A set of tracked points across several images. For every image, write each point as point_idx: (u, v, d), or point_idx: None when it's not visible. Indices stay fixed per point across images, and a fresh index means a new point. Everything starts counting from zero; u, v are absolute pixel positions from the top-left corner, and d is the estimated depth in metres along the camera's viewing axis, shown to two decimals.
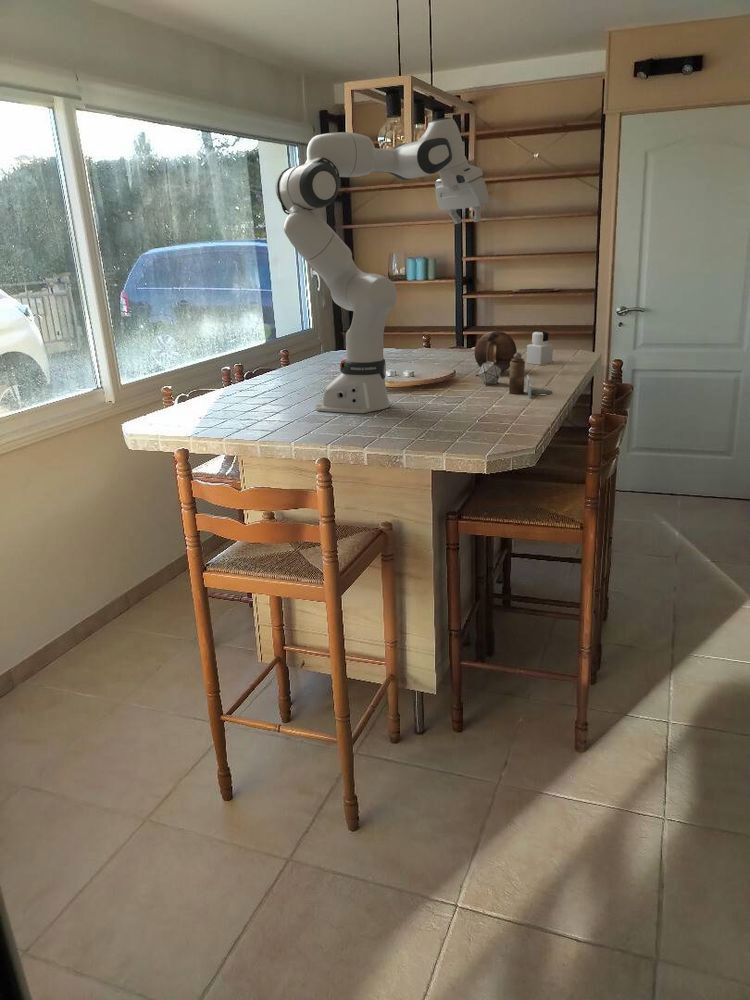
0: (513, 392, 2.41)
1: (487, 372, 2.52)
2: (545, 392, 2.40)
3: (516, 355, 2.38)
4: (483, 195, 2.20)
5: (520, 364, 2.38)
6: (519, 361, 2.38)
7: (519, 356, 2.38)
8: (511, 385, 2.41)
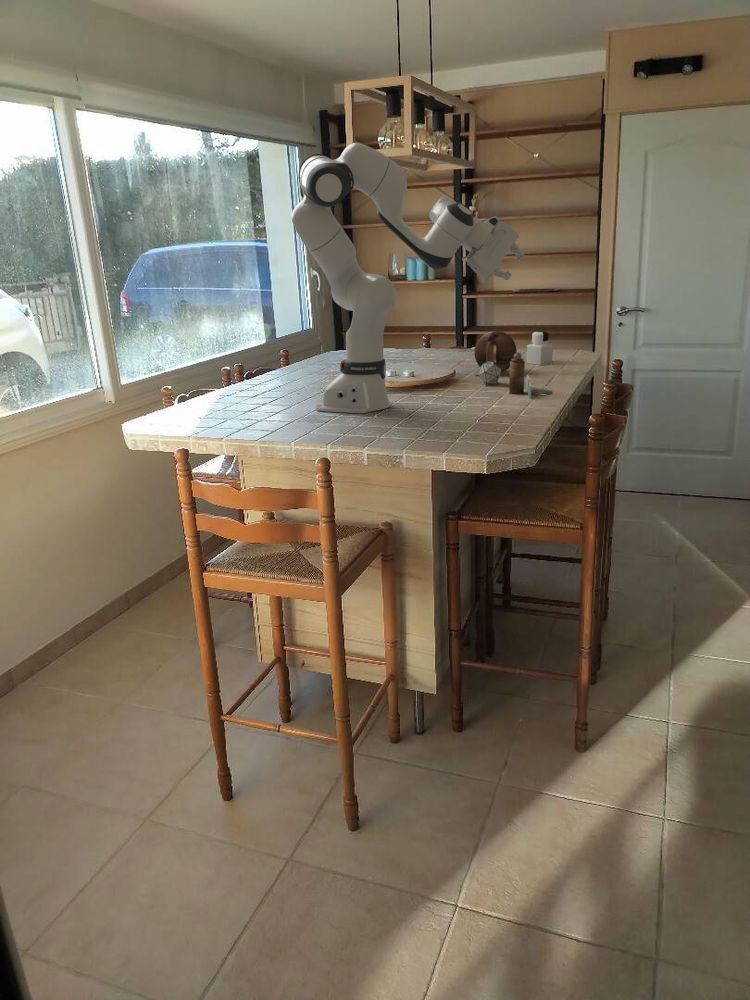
0: (513, 392, 2.41)
1: (487, 372, 2.52)
2: (545, 392, 2.40)
3: (516, 355, 2.38)
4: None
5: (520, 364, 2.38)
6: (519, 361, 2.38)
7: (519, 356, 2.38)
8: (511, 385, 2.41)
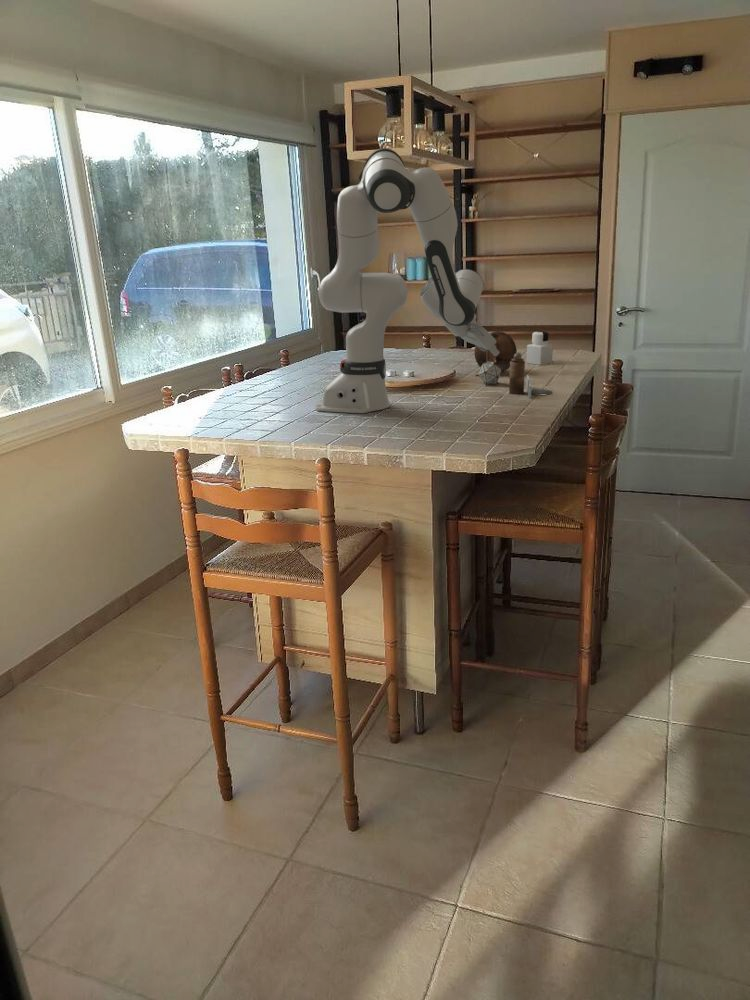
0: (513, 392, 2.41)
1: (487, 372, 2.52)
2: (545, 392, 2.40)
3: (516, 355, 2.38)
4: None
5: (520, 364, 2.38)
6: (519, 361, 2.38)
7: (519, 356, 2.38)
8: (511, 385, 2.41)
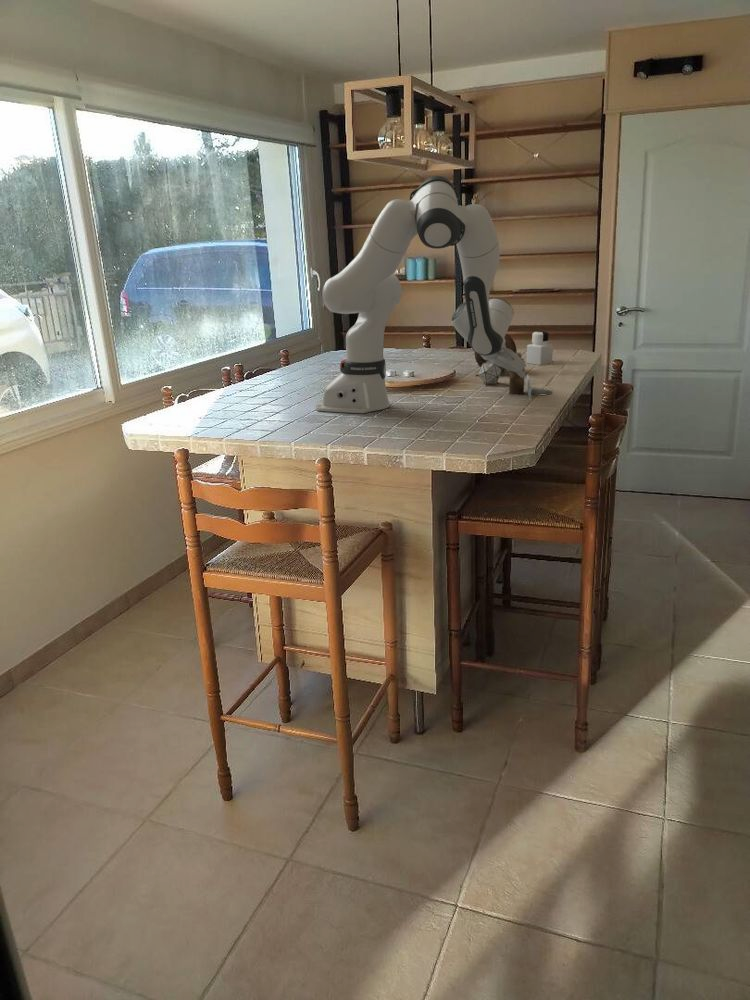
0: (513, 392, 2.41)
1: (487, 372, 2.52)
2: (545, 392, 2.40)
3: None
4: None
5: None
6: None
7: (519, 356, 2.38)
8: (511, 385, 2.41)
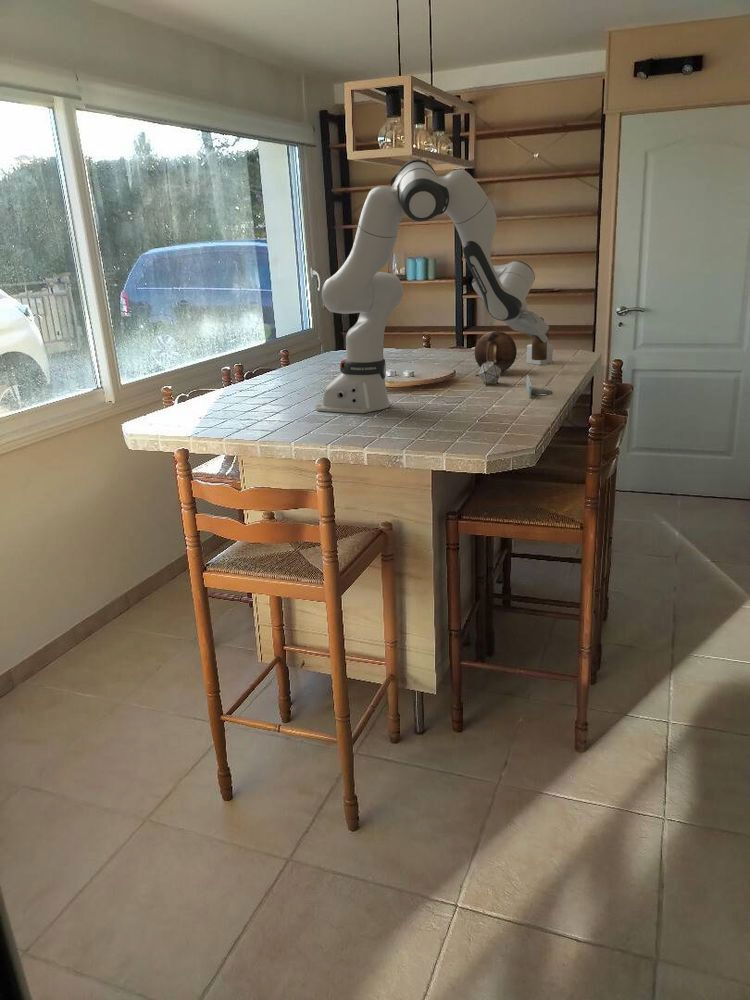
0: (536, 358, 2.35)
1: (487, 372, 2.52)
2: (545, 392, 2.40)
3: None
4: None
5: None
6: None
7: None
8: (533, 351, 2.35)
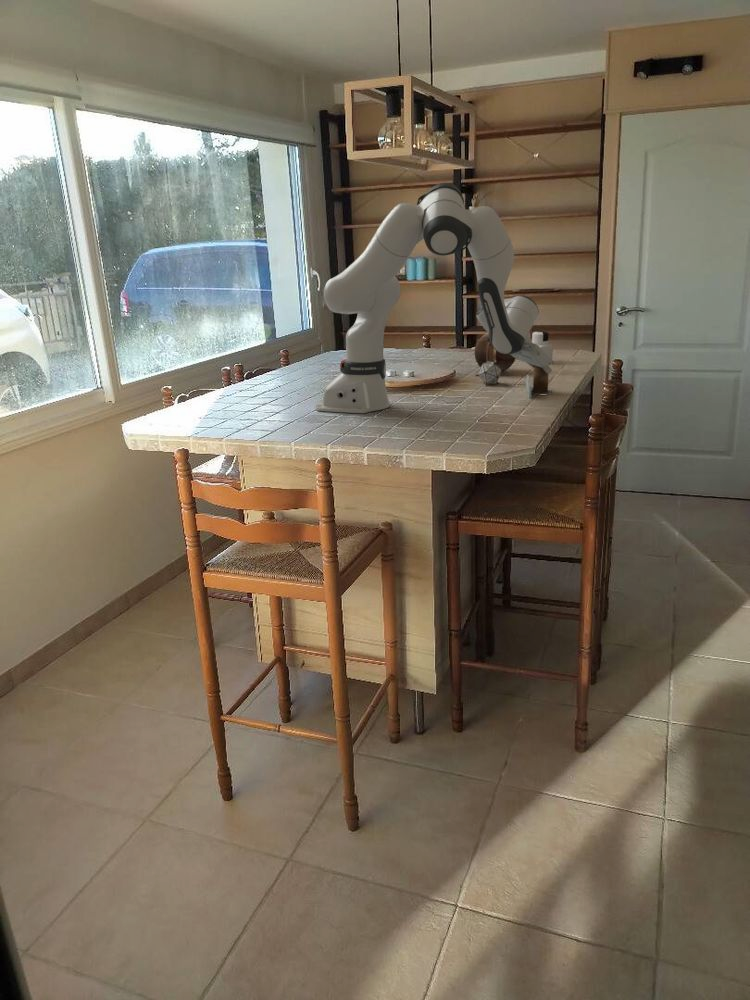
0: (537, 391, 2.40)
1: (487, 372, 2.52)
2: None
3: None
4: None
5: None
6: None
7: None
8: (535, 384, 2.40)
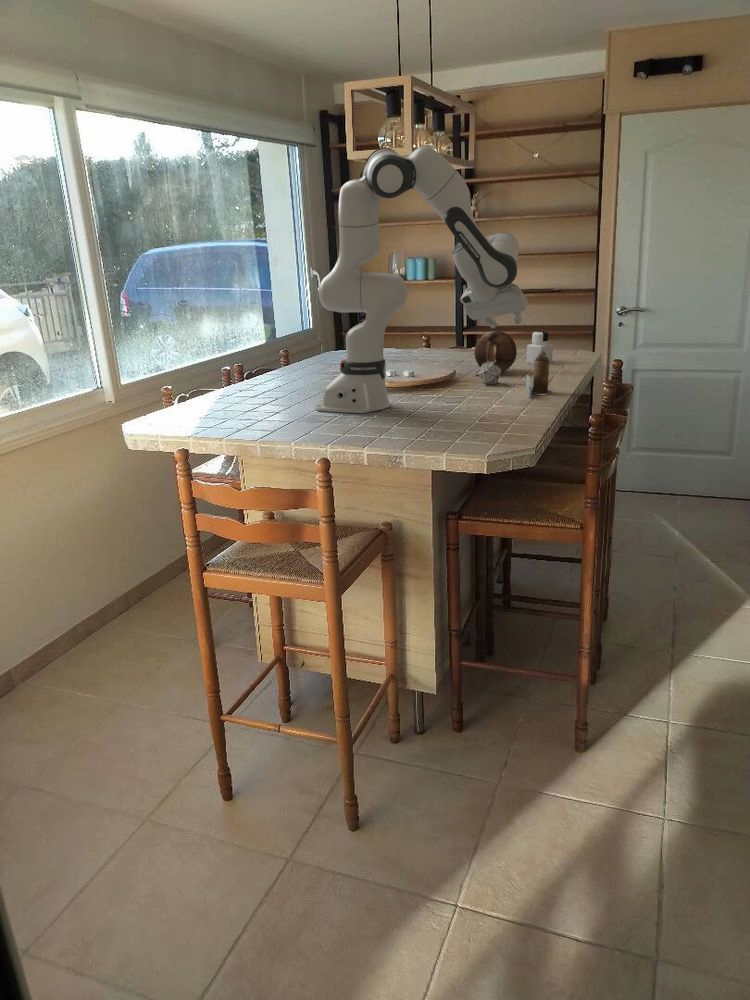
0: (537, 391, 2.40)
1: (487, 372, 2.52)
2: None
3: (540, 353, 2.37)
4: None
5: (544, 362, 2.36)
6: (543, 359, 2.37)
7: (543, 354, 2.37)
8: (535, 384, 2.40)
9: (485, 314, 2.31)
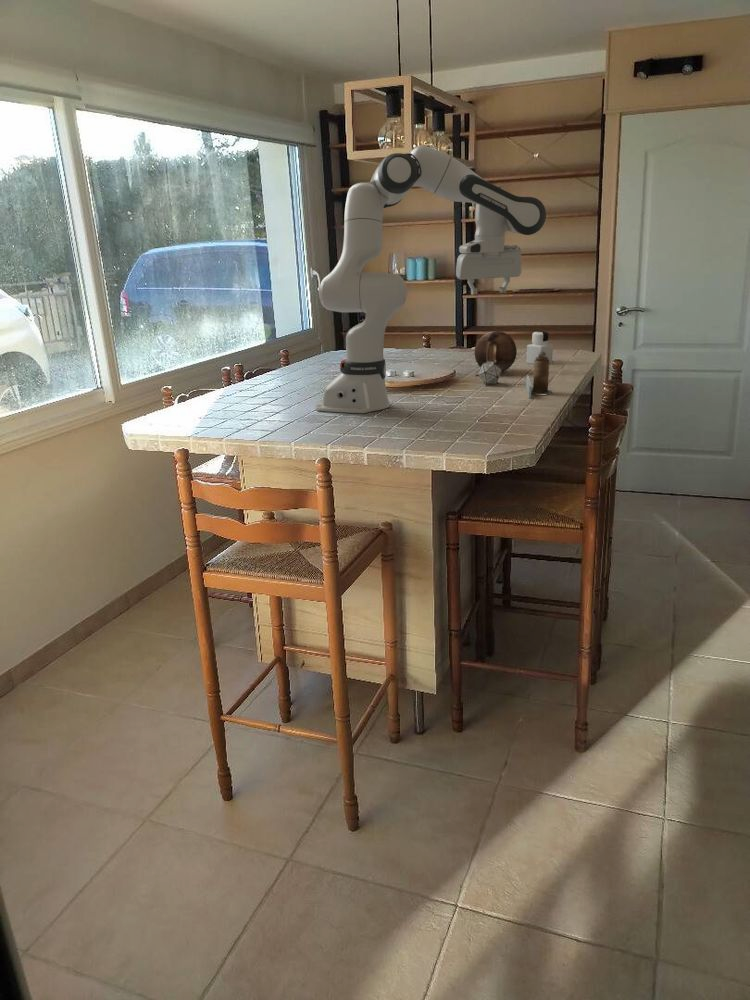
0: (537, 391, 2.40)
1: (487, 372, 2.52)
2: None
3: (540, 353, 2.37)
4: (458, 270, 2.27)
5: (544, 362, 2.36)
6: (544, 359, 2.37)
7: (543, 354, 2.37)
8: (535, 384, 2.40)
9: (479, 273, 2.27)
